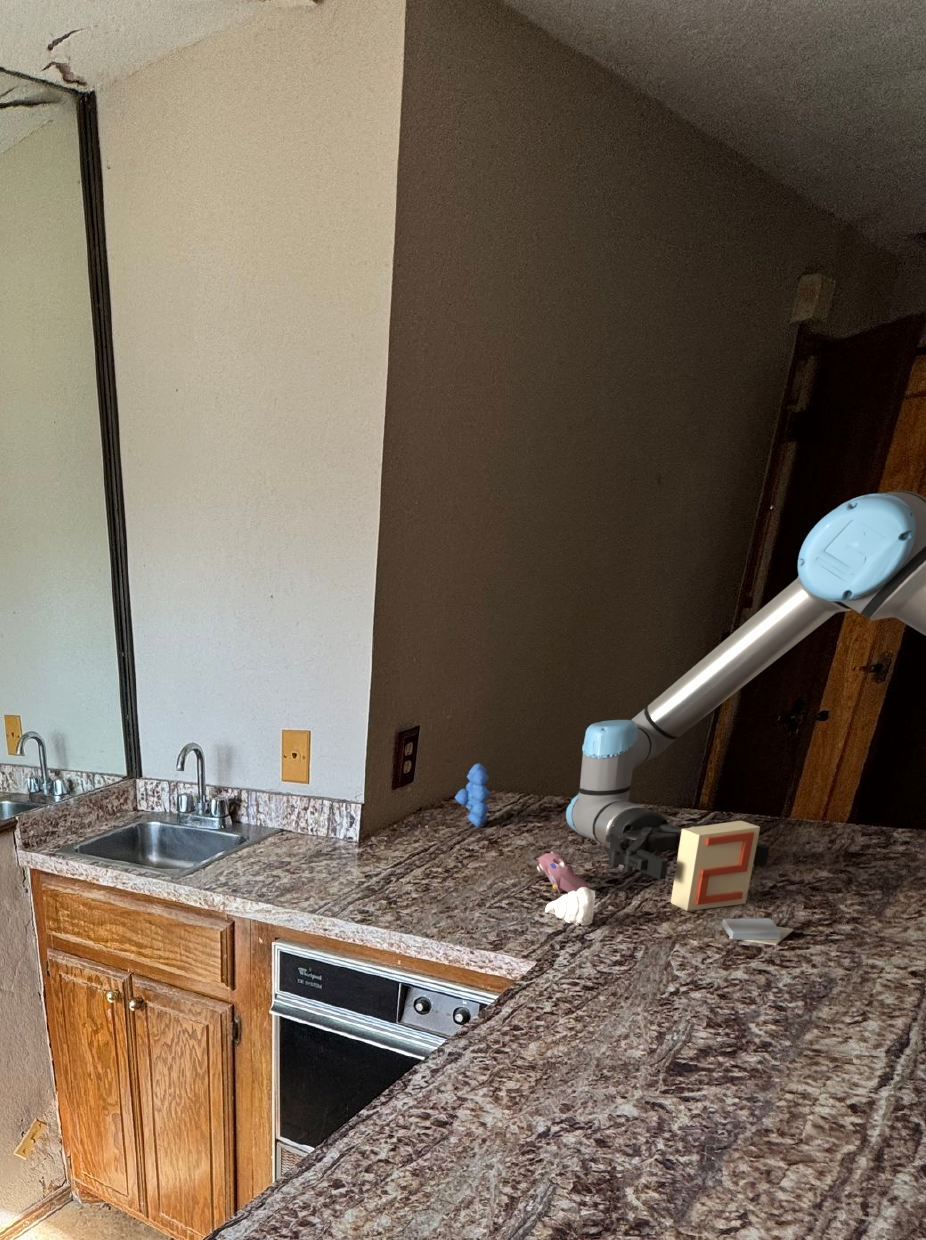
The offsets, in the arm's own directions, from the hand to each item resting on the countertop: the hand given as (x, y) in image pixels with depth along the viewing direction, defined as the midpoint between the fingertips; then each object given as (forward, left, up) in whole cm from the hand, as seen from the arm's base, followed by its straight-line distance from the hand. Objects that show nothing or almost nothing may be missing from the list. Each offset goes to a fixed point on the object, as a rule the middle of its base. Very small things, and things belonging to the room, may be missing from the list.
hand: (714, 863), depth 124 cm
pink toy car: (+14, -14, -6) cm, 21 cm away
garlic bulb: (+20, +1, -6) cm, 21 cm away
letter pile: (+4, +17, -6) cm, 18 cm away
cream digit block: (0, 0, -6) cm, 6 cm away
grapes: (+11, -59, -6) cm, 60 cm away
